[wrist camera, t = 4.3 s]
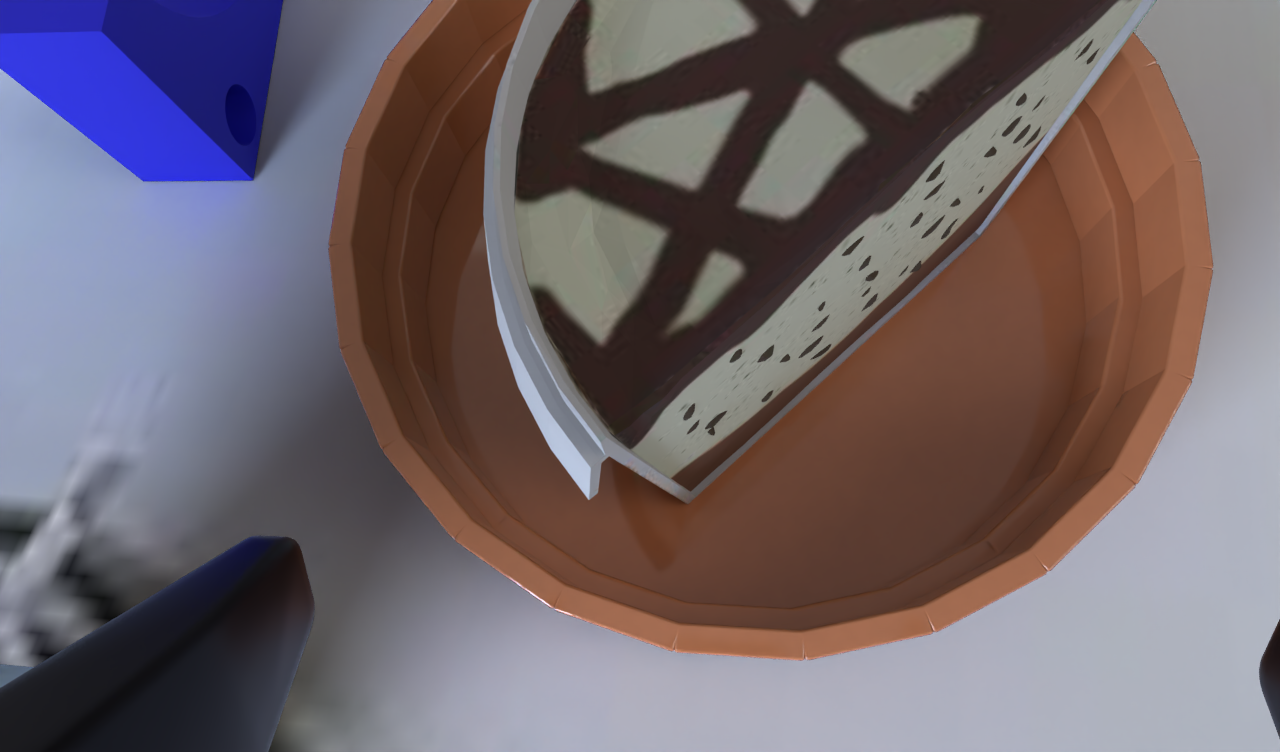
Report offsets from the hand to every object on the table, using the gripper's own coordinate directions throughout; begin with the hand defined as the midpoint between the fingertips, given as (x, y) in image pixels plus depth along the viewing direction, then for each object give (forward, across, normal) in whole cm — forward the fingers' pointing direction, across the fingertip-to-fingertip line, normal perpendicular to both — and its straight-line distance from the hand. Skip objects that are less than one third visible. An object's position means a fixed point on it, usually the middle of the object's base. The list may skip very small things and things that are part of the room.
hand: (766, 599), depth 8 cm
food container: (+13, 0, +2) cm, 14 cm away
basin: (+14, 0, +3) cm, 14 cm away
